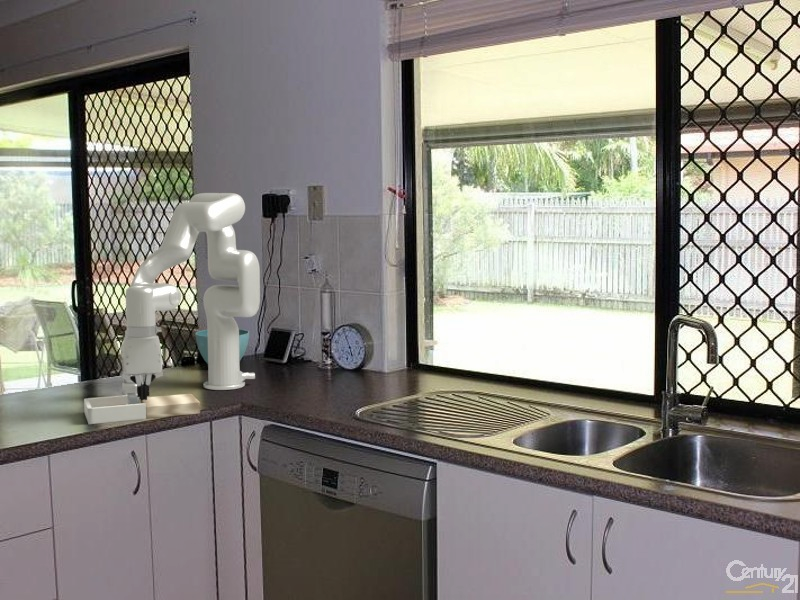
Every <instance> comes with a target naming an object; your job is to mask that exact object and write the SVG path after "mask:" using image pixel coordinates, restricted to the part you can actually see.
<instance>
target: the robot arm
mask: <svg viewBox="0 0 800 600" xmlns="http://www.w3.org/2000/svg"><path fill="white" fill-rule="evenodd" d="M245 212H246V204H245V202H244V199H243V197H242V196H241V195H240V194H237V193H233V192H220V193H219V192H202V193H201V192H200V193H198V194H197V193H196V194H195V195H193V196H192V197H191V198H190V200H189V202H181V203H180V204H178V205H176V207H175V209H174V211H173V213H172V216H171V218H170V222H169V224H168V227H167V228H166V229H167V230H166V232H165V234H164V236H163V237H164V238H163V241H162V243H161V245H160V246H159V247H158V249H156V250H154V252H152V253H151V254H150V255H149V256H147V258H146V259H145V260H144V261H143V262H141V264H140V266H138V268H137V269H136V271H135V274H134V276H133V278H132V281H131V284H130V286H129V287H127V289H126V290H125V314H126V316H125V318H126V330H127V337H125V336H124V337H123V341H122V344H123V348H122V356H121V369H122V374H121V378H122V380H123V379H126V380H132V381H133V382H134V383H135V384H136V385H137V397H139V401H140V400H147V397H150V385H151V383H152V382H154V380H155V379H158V378H160V377H163V376H164V372H163V357H162V348H161V343H160V338H159V335H157V334H158V333H160V332H162V326H157V322H156V321H157V320H156V311H157V312H158V311H161V312H162V311H165V312H170V311H172V310H175V309H176V308H177V307H178V306H179V305H180V303H181V301H182V294H181V291H180V289H179V288H178V287H177V286H175V285H174V284H171V283H163V282H161V283H160V282H155V281H156V279H157V278H158V277H159V276H160V275H161V274H162V273H164V272H165V271H167V270H169V269H171V268H172V267H176V266H178V265H180V264H182V263H184V262H186V261H187V260H189V259H190V258H191V255H192V252H193V249H194V247H195V245H196V241H197V239H198V236H199V233H202V232H203V233H206V240H207V268H208V274H209V276H210V277H211V279H213V280H217V281H225V282H226V281H227V282H237V283H238V285H234V284H233V285H232V284H215V285H211V286H210V287H208V288H207V289H206V291H205V292H204V295H203V298H202V299H203V300H202V301H203V309H204V312H205V317H206V323H207V325H206V326H207V327H206V328H207V329H206V330H208V364H207V367H208V370H207V373H208V380H206V381H205V382H203V388H204V389H207V390H214V391H227V390H228V391H229V390H236V389H237V390H238V389H241V388H243V387H245V385H246V382H245V380H255V379H256V373H255V372H247V371H246V372H243V371H241V370H240V362H239V329H240V328H239V326H238V323H237V321H236V320H235V318H238V317H239V318H252V317H254V316H255V315H257V313H258V311H259V308H260V303H261V282H260V281H261V280H260V279H261V278H260V277H261V272H260V271H261V270H260V262H259V260H258V259H259V258H258V257H257V256H256V254H255V253H254V252H252V251H251V250H246V249H237V243H236V242H237V239H236V232H235V228H234V226H233V225H235V224H236V223H238V222H239V221H240V220H241V219H242V218H243V216H244V214H245ZM234 317H235V318H234ZM142 374H143V375H144V379H143V382H144V384H143V385H142V382H141V379H140V375H142ZM133 375H134V376H133Z"/></svg>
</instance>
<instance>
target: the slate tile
mask: <svg viewBox="0 0 800 600" xmlns="http://www.w3.org/2000/svg"><path fill="white" fill-rule="evenodd" d="M127 401H128V405H130V404H138V397H137V395H136V393H135V392H134V393H127Z"/></svg>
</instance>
